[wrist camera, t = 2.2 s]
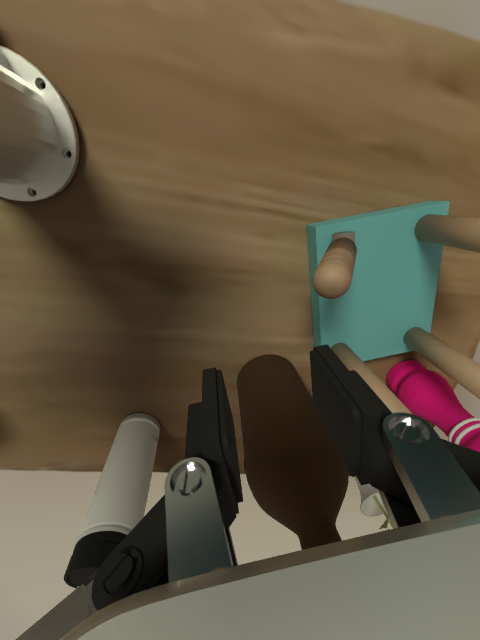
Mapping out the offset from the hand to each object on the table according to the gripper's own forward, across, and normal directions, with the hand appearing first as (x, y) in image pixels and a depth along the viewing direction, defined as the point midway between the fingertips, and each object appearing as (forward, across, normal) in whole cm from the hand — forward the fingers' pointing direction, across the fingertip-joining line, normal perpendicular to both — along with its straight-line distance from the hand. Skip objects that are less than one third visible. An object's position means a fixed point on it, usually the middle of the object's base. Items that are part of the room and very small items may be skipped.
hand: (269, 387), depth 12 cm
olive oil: (+25, -2, +20) cm, 32 cm away
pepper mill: (+25, -26, +24) cm, 44 cm away
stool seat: (+25, -18, +8) cm, 32 cm away
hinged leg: (+22, -14, 0) cm, 26 cm away
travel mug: (+25, +18, +24) cm, 39 cm away
